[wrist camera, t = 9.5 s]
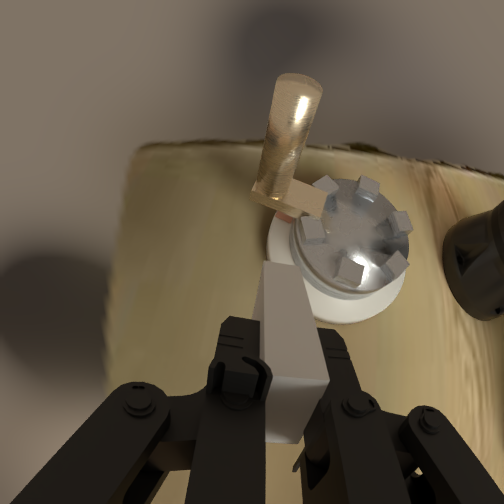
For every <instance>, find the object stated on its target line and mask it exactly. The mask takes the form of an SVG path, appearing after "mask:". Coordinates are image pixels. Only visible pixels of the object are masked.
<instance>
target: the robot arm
mask: <svg viewBox="0 0 504 504" xmlns="http://www.w3.org/2000/svg"><path fill="white" fill-rule="evenodd" d="M443 264H444V270H445V274H446V277H447V280H448V283H449V286H450V288H451V290H452V292H453V294H454V296H455V298H456V300H457V301H458V303H459V304H460V305H461V307H462V308H463V309H464V310H465V311H466V312H467V313H468V314H469V315H471V316H472V317H474V318H476V319H478V320H482V321H488V320H491V319H494V318H496V317H499V316H501V315H503V314H504V200H503V201H502V202H501V203H500V204H499V205H498V206H496V207H495V208H494V209H493V210H490V211H487V212H483V213H480V214H477V215H473V216H470V217H466V218H464V219H462V220H460V221H459V222H458V223H456V224H455V225H454V226H453V227H452V228H451V229H450V230H449V231H448V232H447V234H446V236H445V239H444V243H443ZM303 434H304V442H305V447H304V449H303V451H302V453H301V454H300V456H299V457H298V459H297V461H296V462H295V464H294V466H293V470H292V472H296V471H297V470H298V468H299V467H300V470H301V483H302V497H303V504H504V495H503V493H502V492H501V490H500V489H499V487H498V486H497V485H496V483H495V482H494V480H493V479H492V478H491V476H490V475H489V473H488V472H487V471H486V469H485V468H484V467H483V465H482V464H481V463H480V461H479V460H478V458H477V457H476V456H475V454H474V453H473V452H472V450H471V449H470V448H469V446H468V445H467V444H466V442H465V441H464V440H463V439H462V437H461V436H460V435H459V433H458V432H457V431H456V429H455V428H454V427H453V426H452V424H451V423H450V422H449V420H448V419H447V418H446V417H445V416H444V415H443V414H442V413H441V412H440V411H439V410H437V409H435V408H433V407H430V406H425V405H424V406H417V407H415V408H414V409H412V410H411V411H410V413H409V414H408V416H402V415H397V414H393V413H389V412H385V411H382V410H381V408H380V406H379V404H378V403H377V401H376V399H374V398H373V397H372V396H371V395H370V394H368V393H366V392H364V391H362V390H361V387H360V384H359V381H358V378H357V376H356V373H355V370H354V367H353V364H352V361H351V360H350V356H349V353H348V352H347V347H346V345H345V342H344V339H343V338H342V337H341V336H340V335H339V334H338V333H337V332H336V331H335V330H334V329H325V328H317V327H316V324H315V320H314V316H313V313H312V309H311V305H310V302H309V298H308V294H307V291H306V287H305V284H304V280H303V276H302V273H301V269H300V266H294V265H288V264H282V263H276V262H270V261H265V260H264V261H263V266H262V271H261V276H260V281H259V286H258V291H257V296H256V301H255V306H254V311H253V316H252V319H245V318H239V317H233V316H229V317H228V318H227V319H226V320H225V321H224V322H223V323H222V324H221V328H220V333H219V337H218V342H217V347H216V352H215V357H214V359H213V360H212V362H211V364H210V366H209V369H208V377H207V385H206V386H205V387H204V388H203V389H202V390H200V391H199V392H197V393H194V394H191V395H185V396H168V397H167V396H166V394H165V393H164V392H163V390H161V389H159V388H158V387H156V386H155V385H152V384H149V383H145V382H130V383H127V384H123V385H121V386H120V387H118V388H117V389H115V390H114V391H113V392H112V393H111V394H110V395H109V396H108V397H107V398H106V399H105V401H104V402H103V403H102V404H101V405H100V406H99V407H98V408H97V409H96V410H95V411H94V412H93V414H92V415H91V416H90V417H89V418H88V419H87V420H86V421H85V422H84V423H83V424H82V425H81V427H80V428H79V429H78V430H77V431H76V432H75V433H74V434H73V435H72V436H71V437H70V438H69V440H68V441H67V442H66V443H65V444H64V445H63V446H62V447H61V448H60V449H59V450H58V451H57V453H56V454H55V455H54V456H53V457H52V458H51V459H50V460H49V461H48V462H47V464H46V465H45V466H44V467H43V468H42V469H41V470H40V471H39V472H38V473H37V474H36V476H35V477H34V478H33V479H32V480H31V481H30V482H29V483H28V485H26V486H25V488H24V489H23V490H22V491H21V492H20V493H19V494H18V495H17V496H16V498H15V499H14V500H13V501H12V502H11V503H10V504H150V503H151V502H152V500H153V498H154V497H155V495H156V493H157V492H158V490H159V488H160V487H161V485H162V483H163V482H164V480H165V478H166V477H167V475H168V473H169V472H170V471H178V470H191V471H190V477H189V482H188V487H187V493H186V498H185V504H265V479H266V442H272V443H287V444H298V443H299V441H300V439H301V438H302V436H303ZM418 467H419V468H420V470H421V471H422V473H423V474H422V475H418V474H416V473H415V470H416V469H417V468H418Z"/></svg>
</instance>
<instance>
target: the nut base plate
mask: <svg viewBox="0 0 504 504" xmlns="http://www.w3.org/2000/svg"><path fill="white" fill-rule="evenodd" d="M293 220H294V217H292V216H290V215H287V214H285V213H282V212H280V211H277V212H276V213H275V215H274V218H273V220H272V223H271V226H270V229H269V232H268V237H267V244H266V255H267V261H270V262H276V263H282V264H288V265H294V266H296V265H295V263H294V260H293V258H292V255H291V251H290V245H289V234H290V228H291V225H292V222H293ZM405 271H406V269H405V270H404V272H403V273H402V274H401V275H400V276H399V277H398V278H397V279H396V280H394V281H393V282H391V283H389V284H388V285H386V286H385V287H383V288H382V289H380V290H379V291H377V292H376V293H374V294H373V295H371V296H369V297H366V298H363V299H360V300H341V299H336V298H333V297H330V296H328V295H326V294H324V293H322V292H320V291H319V290H317V289H316V288H314V287H313V286H312V285H311V284H310V283H309V282H308V281H307V280H306V279H305V278H304V277H303V280H304V284H305V287H306V291H307V294H308V298H309V302H310V305H311V309H312V313H313V316H314V319H316V320H319V321H321V322H325V323H330V324H338V325H344V324H353V323H358V322H361V321H363V320H366V319H368V318H370V317H372V316H374V315H376V314H378V313H379V312H381V311H383V310H384V309H385V308H386V307H388V306H389V305H390V304H391V303H392V301H393V300H394V299H395V298H396V296H397V295H398V293H399V291H400V289H401V287H402V284H403V281H404V277H405Z"/></svg>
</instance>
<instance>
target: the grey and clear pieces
mask: <svg viewBox="0 0 504 504" xmlns="http://www.w3.org/2000/svg"><path fill="white" fill-rule="evenodd" d="M322 92H323V89H322V87H321V85H320V84H319V83H318V82H317V81H316V80H314V79H312V78H310V77H308V76H306V75H302V74H298V73H286V74H282V75H280V76H279V77H278V78H277V81H276V86H275V91H274V96H273V101H272V106H271V111H270V115H269V120H268V125H267V130H266V135H265V140H264V145H263V150H262V155H261V160H260V165H259V170H258V175H257V180H256V182H255V184H254V186H253V188H252V190H251V194H250V200H251V201H254V202H257V203H259V204H262V205H264V206H267V207H269V208H272V209H275V210H277V211H280V212H282V213H285V214H287V215H290V216H292V217H294V220H293V222H292V225H291V228H290V234H289V245H290V251H291V255H292V258H293V260H294V263H295V265H296V266H300V269H301V273H302V276H303V277H304V278H305V279H306V280H307V281H308V282H309V283H310V284H311V285H312V286H313V287H314V288H316V289H317V290H319V291H320V292H322V293H324V294H326V295H328V296H330V297H333V298H336V299H341V300H360V299H363V298H366V297H369V296H371V295H373V294H374V293H376V292H377V291H379V290H380V289H382V288H383V287H385V286H386V285H388V284H389V283H391V282H393V281H394V280H396V279H397V278H398V277H399V276H400V275H401V274H402V273H403V272H404V270H405V269H406V268H407V267H408V266H409V265H410V264H409V263H408V261H407V258H408V252H409V242H408V235H409V234H410V233H411V232H412V231H413V227H412V225H411V222H410V219H409V217H408V214H407V212H406V211H397V210H396V209H395V207H394V206H393V205H392V204H391V203H390V202H389V201H388V200H387V199H386V198H385V197H384V196H383V195H382V194H381V193H379V186H380V183H378V182H376V181H374V180H372V179H370V178H368V177H365V176H363V175H361V176H360V178H359V179H358V181H354V180H348V179H333V180H332V179H331V178H330V177H329V176H328V175H326V176H324V177H322V178H321V179H319V180H318V181H316V182H314V183H313V184H312V185H311V186H310V185H308V184H306V183H303V182H301V181H298V180H295V179H293V176H294V173H295V170H296V167H297V164H298V161H299V159H300V156H301V153H302V150H303V147H304V144H305V141H306V138H307V136H308V133H309V130H310V127H311V124H312V121H313V118H314V116H315V113H316V110H317V107H318V104H319V101H320V98H321V95H322Z"/></svg>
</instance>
